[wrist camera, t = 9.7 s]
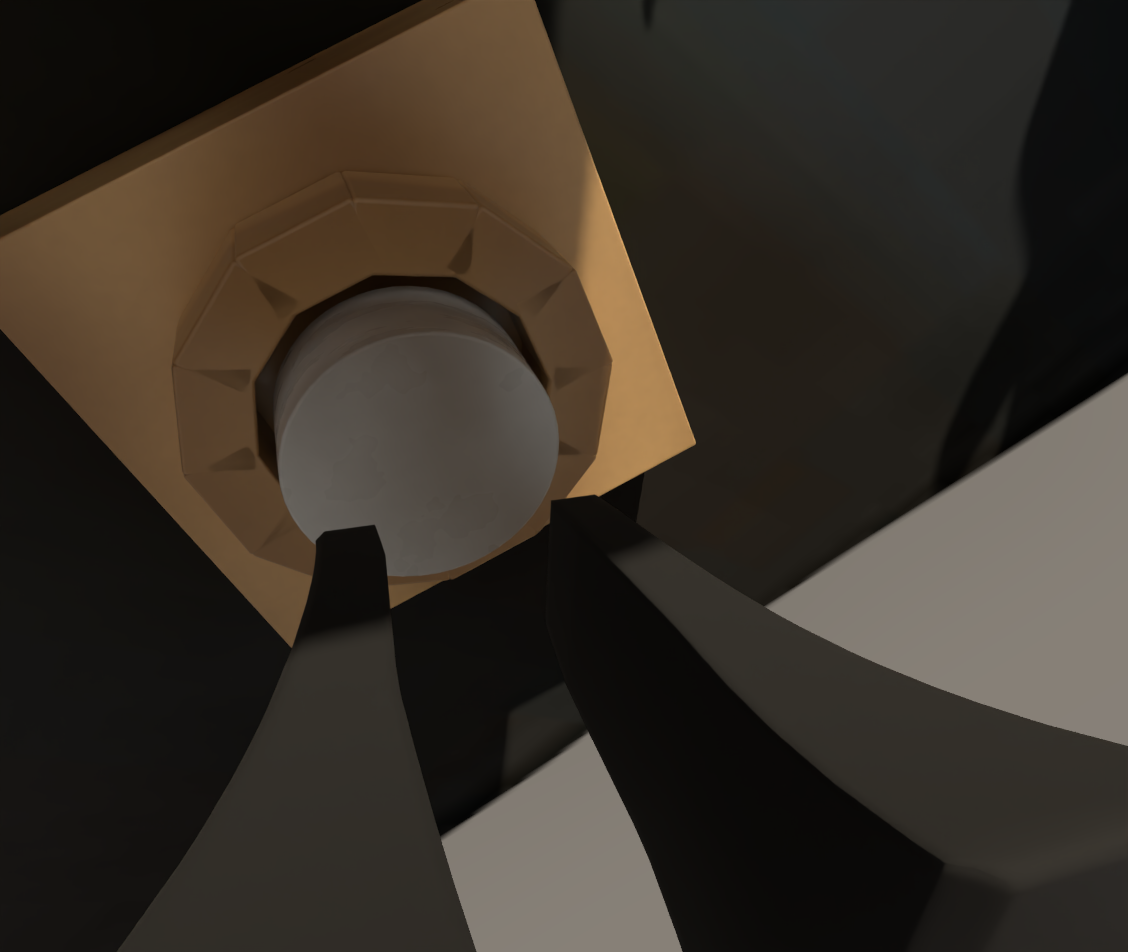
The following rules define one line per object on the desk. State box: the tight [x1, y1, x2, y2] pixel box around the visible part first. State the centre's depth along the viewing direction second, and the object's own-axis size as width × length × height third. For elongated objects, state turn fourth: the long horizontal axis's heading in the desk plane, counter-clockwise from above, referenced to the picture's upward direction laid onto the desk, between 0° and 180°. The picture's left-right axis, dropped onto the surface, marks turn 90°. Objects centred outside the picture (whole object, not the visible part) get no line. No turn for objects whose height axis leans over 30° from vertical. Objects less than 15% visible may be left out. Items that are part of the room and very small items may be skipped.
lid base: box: [0, 0, 696, 648], centre depth 16 cm, size 10×10×4 cm
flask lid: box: [273, 286, 559, 577], centre depth 14 cm, size 4×4×2 cm
